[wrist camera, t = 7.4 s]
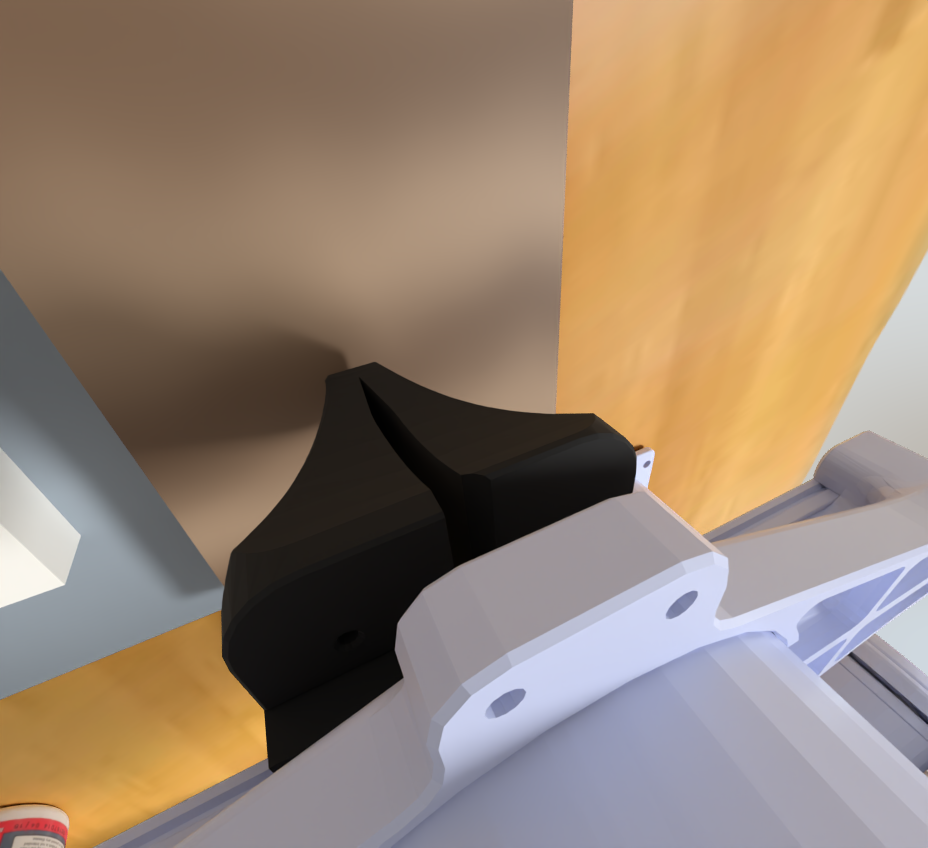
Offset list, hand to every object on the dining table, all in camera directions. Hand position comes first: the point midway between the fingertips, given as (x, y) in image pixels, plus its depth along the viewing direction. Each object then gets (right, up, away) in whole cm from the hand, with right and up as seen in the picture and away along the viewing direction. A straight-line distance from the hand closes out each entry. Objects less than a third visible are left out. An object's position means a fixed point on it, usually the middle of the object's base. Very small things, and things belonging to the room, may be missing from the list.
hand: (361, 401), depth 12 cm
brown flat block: (-1, +2, +3) cm, 4 cm away
